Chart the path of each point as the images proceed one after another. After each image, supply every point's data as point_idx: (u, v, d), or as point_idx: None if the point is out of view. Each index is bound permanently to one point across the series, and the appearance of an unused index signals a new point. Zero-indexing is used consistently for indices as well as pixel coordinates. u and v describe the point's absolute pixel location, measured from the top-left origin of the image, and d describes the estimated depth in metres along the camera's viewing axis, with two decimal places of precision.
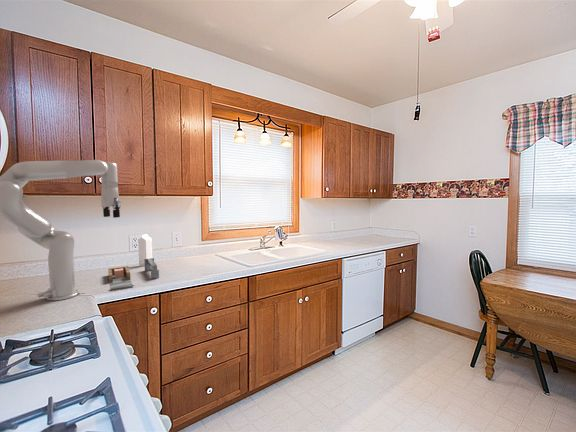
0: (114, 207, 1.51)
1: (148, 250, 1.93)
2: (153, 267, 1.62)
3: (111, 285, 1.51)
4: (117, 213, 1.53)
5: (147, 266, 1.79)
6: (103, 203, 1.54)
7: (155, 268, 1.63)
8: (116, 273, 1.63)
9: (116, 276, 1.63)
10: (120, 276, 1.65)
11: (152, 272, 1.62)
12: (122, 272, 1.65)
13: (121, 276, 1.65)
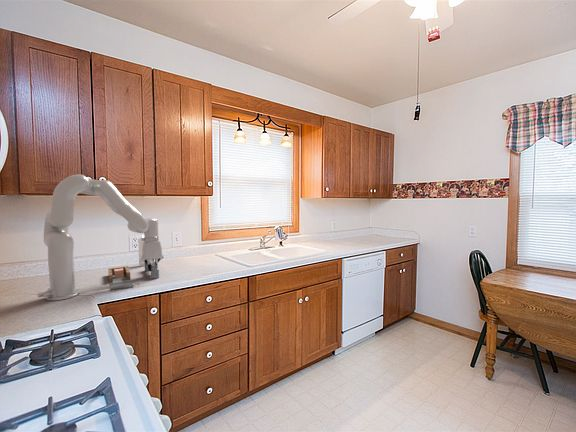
0: (157, 261, 1.70)
1: None
2: (153, 267, 1.62)
3: (111, 285, 1.51)
4: (157, 266, 1.71)
5: (147, 266, 1.79)
6: (149, 257, 1.65)
7: (155, 268, 1.63)
8: (116, 273, 1.63)
9: (116, 276, 1.63)
10: (120, 276, 1.65)
11: (152, 272, 1.62)
12: (122, 272, 1.65)
13: (121, 276, 1.65)
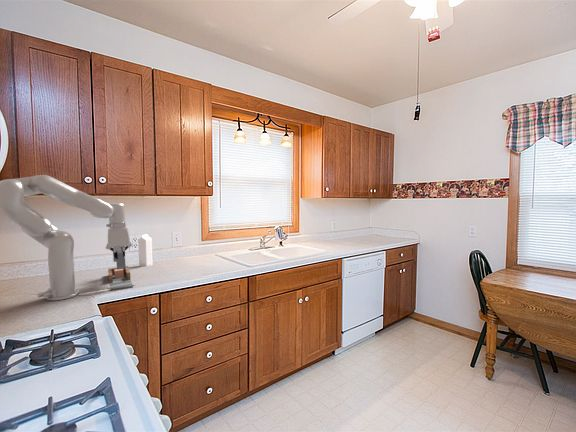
0: (125, 249, 1.58)
1: (148, 250, 1.93)
2: (119, 255, 1.50)
3: (111, 285, 1.51)
4: (124, 254, 1.59)
5: None
6: (115, 244, 1.54)
7: (121, 256, 1.51)
8: (116, 273, 1.63)
9: (116, 276, 1.63)
10: (120, 276, 1.65)
11: (118, 260, 1.50)
12: (122, 272, 1.65)
13: (121, 276, 1.65)
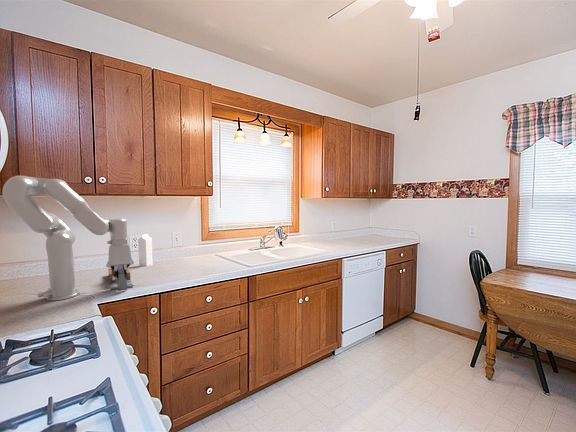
0: (126, 267, 1.50)
1: (148, 250, 1.93)
2: (120, 276, 1.42)
3: (111, 285, 1.51)
4: None
5: None
6: (116, 262, 1.46)
7: (122, 277, 1.43)
8: None
9: None
10: None
11: (119, 281, 1.43)
12: None
13: None
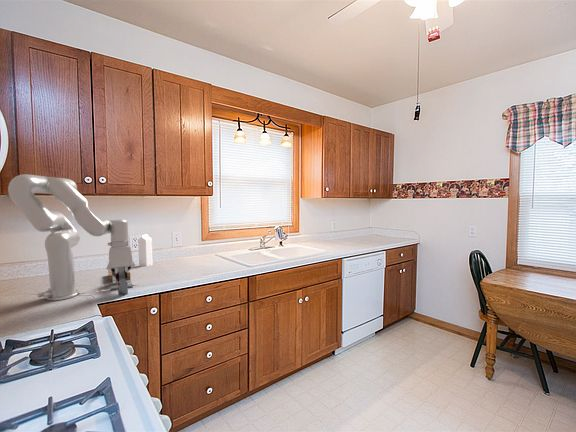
0: (127, 269, 1.45)
1: (148, 250, 1.93)
2: (121, 280, 1.38)
3: (111, 285, 1.51)
4: None
5: None
6: (116, 265, 1.41)
7: (123, 281, 1.38)
8: None
9: (117, 282, 1.52)
10: None
11: (119, 286, 1.38)
12: None
13: None
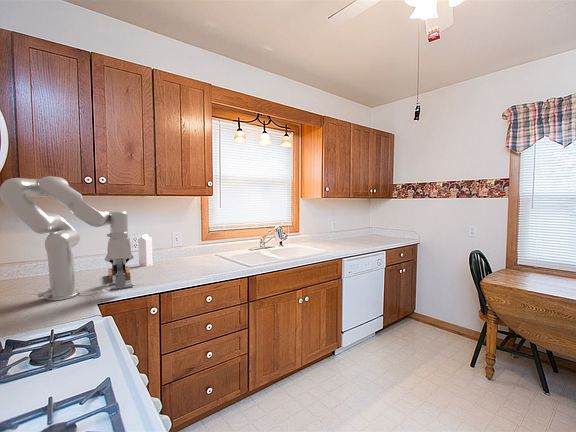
0: (126, 261, 1.44)
1: (148, 250, 1.93)
2: (118, 272, 1.37)
3: (111, 285, 1.51)
4: None
5: None
6: (115, 256, 1.40)
7: (121, 273, 1.38)
8: None
9: None
10: None
11: (117, 278, 1.37)
12: None
13: None
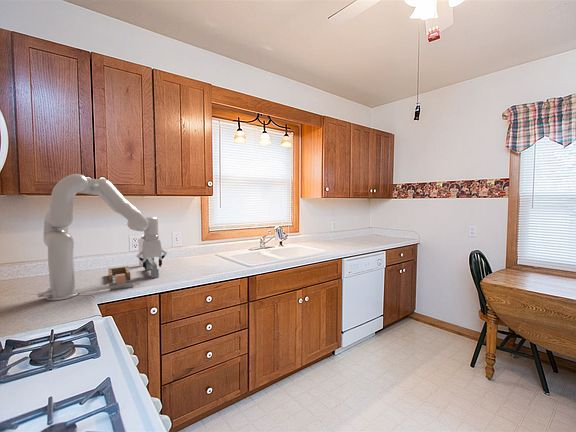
0: (161, 257, 1.71)
1: None
2: (153, 266, 1.64)
3: (111, 285, 1.51)
4: (161, 262, 1.72)
5: (147, 265, 1.81)
6: (149, 255, 1.65)
7: (155, 267, 1.64)
8: (117, 279, 1.52)
9: (117, 282, 1.52)
10: (122, 282, 1.54)
11: (152, 271, 1.64)
12: (124, 278, 1.54)
13: (123, 282, 1.54)
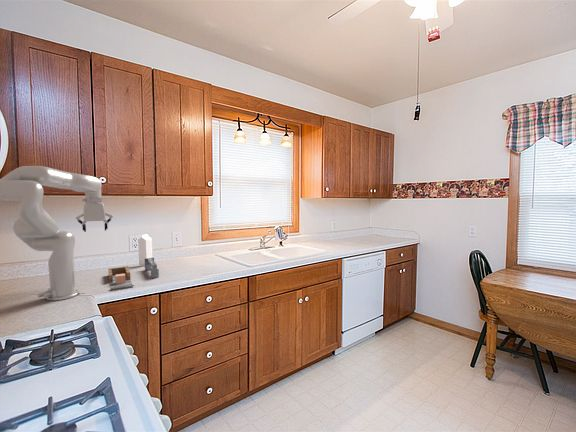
0: (106, 221, 1.64)
1: (148, 250, 1.93)
2: (153, 266, 1.64)
3: (111, 285, 1.51)
4: None
5: (147, 265, 1.81)
6: (90, 218, 1.58)
7: (155, 267, 1.64)
8: (117, 279, 1.52)
9: (117, 282, 1.52)
10: (122, 282, 1.54)
11: (152, 271, 1.64)
12: (124, 278, 1.54)
13: (123, 282, 1.54)
